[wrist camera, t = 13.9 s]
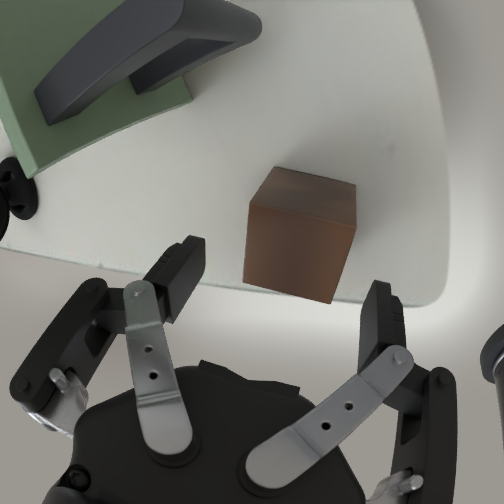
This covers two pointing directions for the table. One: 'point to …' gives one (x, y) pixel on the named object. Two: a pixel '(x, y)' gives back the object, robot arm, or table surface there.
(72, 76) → the door
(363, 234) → the table surface
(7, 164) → the webcam
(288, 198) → the block
